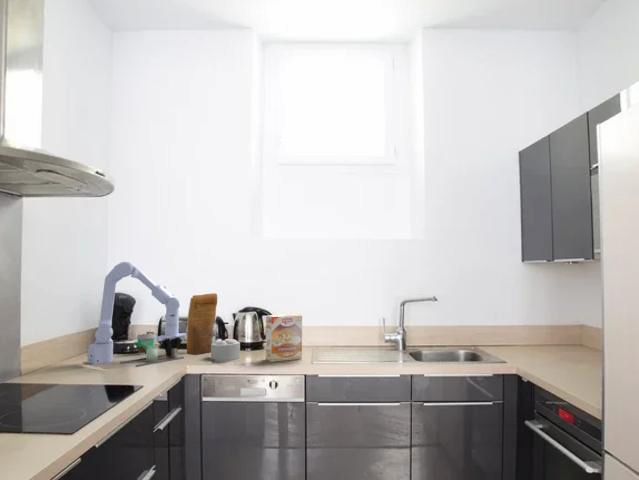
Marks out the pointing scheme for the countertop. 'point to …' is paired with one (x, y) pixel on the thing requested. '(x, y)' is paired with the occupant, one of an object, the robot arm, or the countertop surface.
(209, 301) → the pancake mix bag
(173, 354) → the brown piece
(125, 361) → the track
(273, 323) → the coffeecake box
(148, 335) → the food container
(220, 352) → the lumpy-topped squat cylinder
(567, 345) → the countertop surface
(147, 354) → the tapered cylinder
